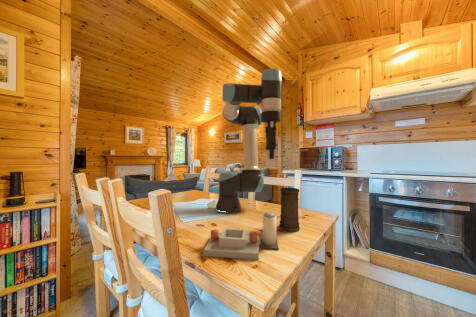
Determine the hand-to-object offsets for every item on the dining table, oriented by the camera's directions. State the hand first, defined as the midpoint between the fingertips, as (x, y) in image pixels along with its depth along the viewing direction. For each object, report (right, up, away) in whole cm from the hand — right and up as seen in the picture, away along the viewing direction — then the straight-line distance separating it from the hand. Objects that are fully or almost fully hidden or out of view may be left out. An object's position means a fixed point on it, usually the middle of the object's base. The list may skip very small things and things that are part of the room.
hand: (270, 167), depth 73 cm
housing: (-14, -29, -5) cm, 32 cm away
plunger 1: (-21, -26, -4) cm, 34 cm away
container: (+11, -29, +14) cm, 34 cm away
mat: (-1, -29, -2) cm, 29 cm away
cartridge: (-1, -28, -2) cm, 28 cm away
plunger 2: (-7, -26, -6) cm, 28 cm away
